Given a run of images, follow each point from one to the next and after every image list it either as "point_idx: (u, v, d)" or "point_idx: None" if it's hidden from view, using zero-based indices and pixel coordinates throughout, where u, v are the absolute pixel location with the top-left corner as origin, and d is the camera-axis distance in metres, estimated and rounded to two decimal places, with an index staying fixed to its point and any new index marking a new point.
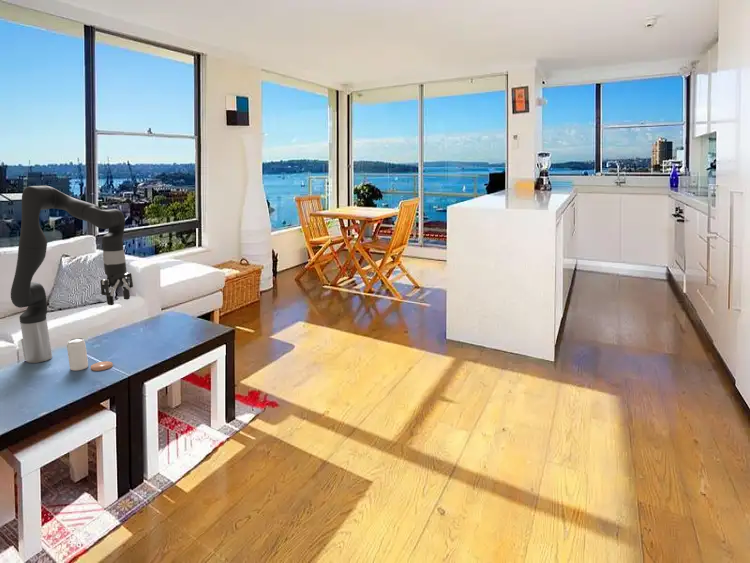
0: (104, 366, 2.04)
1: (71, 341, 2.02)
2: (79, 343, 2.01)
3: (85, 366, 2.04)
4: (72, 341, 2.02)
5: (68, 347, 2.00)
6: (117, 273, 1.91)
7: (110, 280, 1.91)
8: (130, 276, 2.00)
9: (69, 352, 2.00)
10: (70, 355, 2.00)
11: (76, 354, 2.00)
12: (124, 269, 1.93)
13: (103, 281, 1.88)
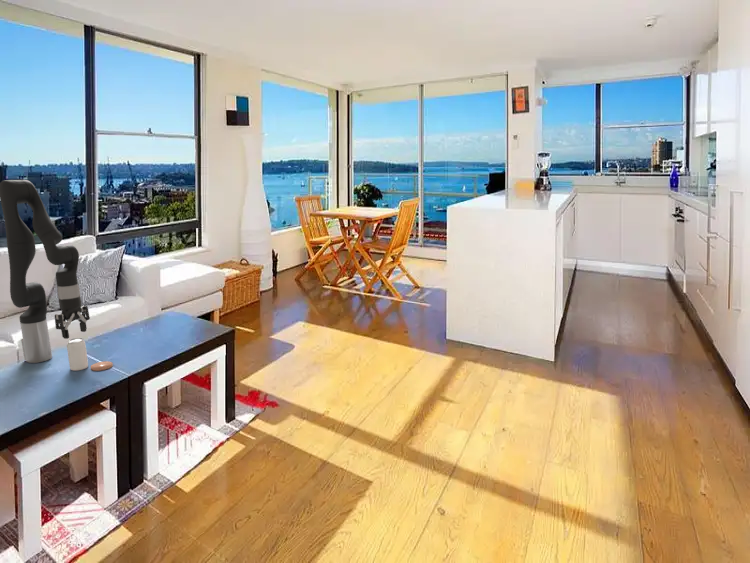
0: (104, 366, 2.04)
1: (71, 341, 2.02)
2: (79, 343, 2.01)
3: (85, 366, 2.04)
4: (72, 341, 2.02)
5: (68, 347, 2.00)
6: (71, 307, 1.96)
7: (64, 314, 1.95)
8: (86, 309, 2.05)
9: (69, 352, 2.00)
10: (70, 355, 2.00)
11: (76, 354, 2.00)
12: (79, 303, 1.98)
13: (57, 316, 1.93)
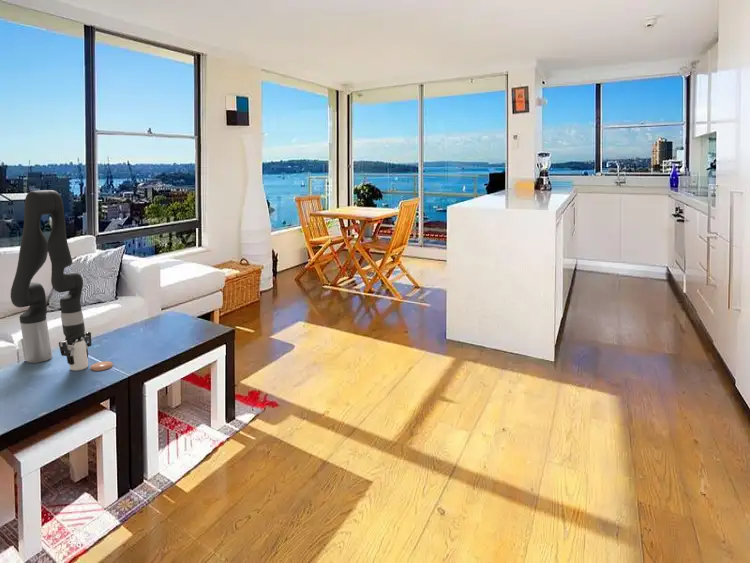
0: (104, 366, 2.04)
1: None
2: (79, 343, 2.01)
3: (85, 366, 2.04)
4: None
5: (68, 347, 2.00)
6: (75, 333, 1.98)
7: (68, 342, 1.98)
8: (89, 335, 2.07)
9: (69, 352, 2.00)
10: None
11: (76, 354, 2.00)
12: (82, 329, 2.01)
13: (61, 344, 1.95)
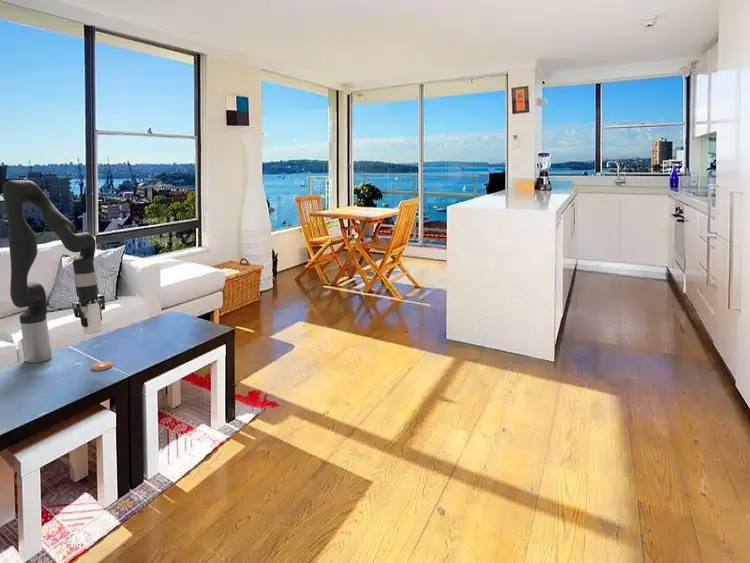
0: (104, 366, 2.04)
1: None
2: (93, 305, 1.98)
3: (99, 329, 2.01)
4: None
5: (82, 309, 1.97)
6: (88, 295, 1.95)
7: (82, 303, 1.95)
8: (103, 298, 2.05)
9: (83, 314, 1.97)
10: None
11: (90, 316, 1.97)
12: (96, 291, 1.98)
13: (75, 305, 1.93)
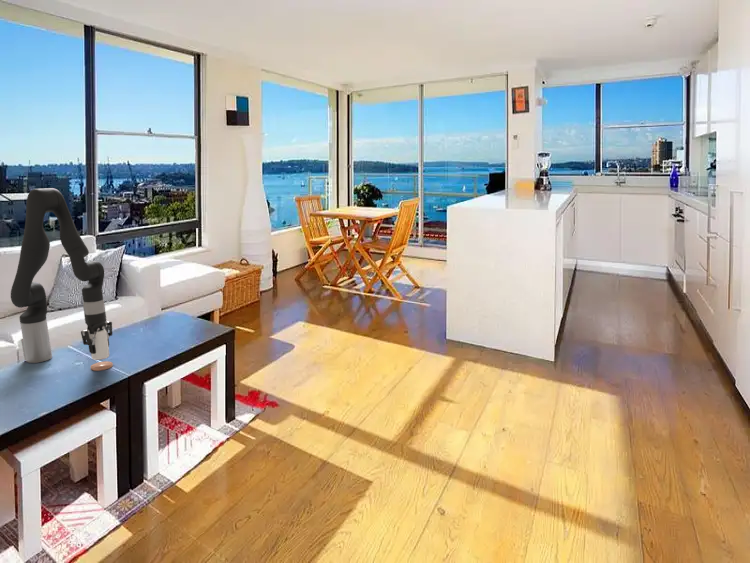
0: (104, 366, 2.04)
1: None
2: (101, 332, 2.01)
3: (107, 355, 2.04)
4: None
5: (90, 336, 2.00)
6: (97, 322, 1.99)
7: (90, 331, 1.98)
8: (110, 324, 2.08)
9: (91, 341, 2.00)
10: None
11: (98, 343, 2.01)
12: (104, 318, 2.01)
13: (83, 332, 1.96)
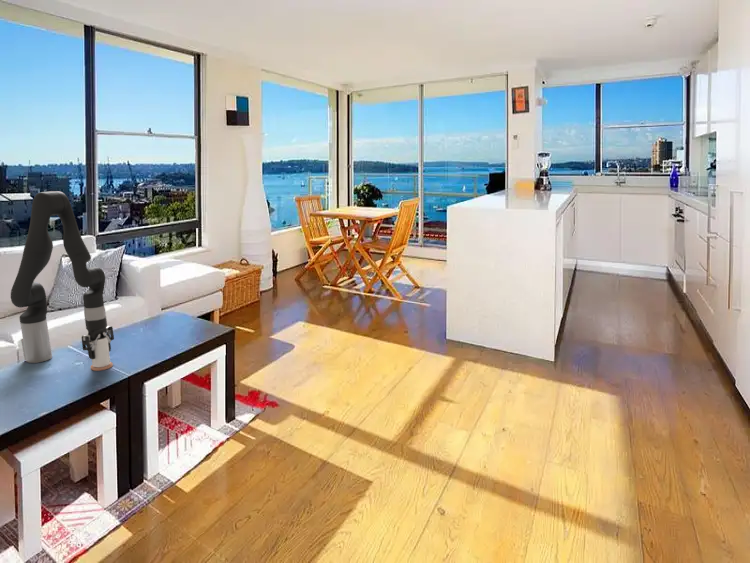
0: None
1: None
2: (102, 340, 2.02)
3: (108, 363, 2.05)
4: None
5: None
6: (98, 328, 1.99)
7: (91, 335, 1.99)
8: (111, 329, 2.08)
9: None
10: None
11: (99, 351, 2.01)
12: (105, 324, 2.01)
13: (84, 337, 1.96)
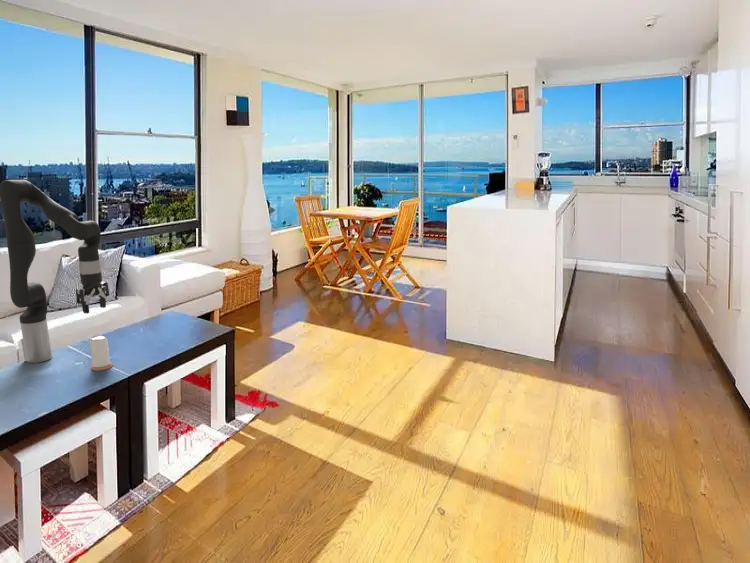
0: None
1: (94, 338, 2.03)
2: (102, 340, 2.02)
3: (108, 363, 2.05)
4: (95, 338, 2.03)
5: (91, 344, 2.01)
6: (92, 283, 1.98)
7: (85, 289, 1.97)
8: (106, 285, 2.07)
9: (92, 349, 2.01)
10: (92, 352, 2.01)
11: (99, 351, 2.01)
12: (99, 279, 2.00)
13: (78, 290, 1.95)
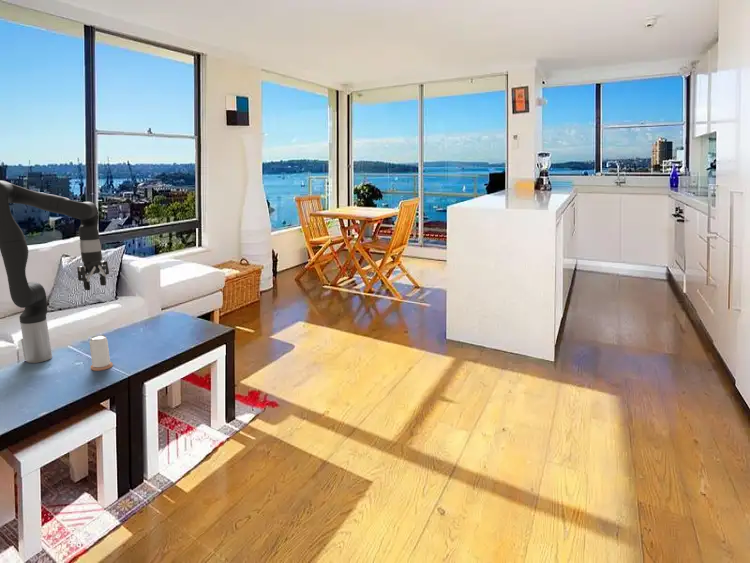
0: None
1: (94, 338, 2.03)
2: (102, 340, 2.02)
3: (108, 363, 2.05)
4: (95, 338, 2.03)
5: (91, 344, 2.01)
6: (93, 260, 2.07)
7: (86, 267, 2.07)
8: (106, 264, 2.17)
9: (92, 349, 2.01)
10: (92, 352, 2.01)
11: (99, 351, 2.01)
12: (100, 257, 2.10)
13: (80, 268, 2.04)
